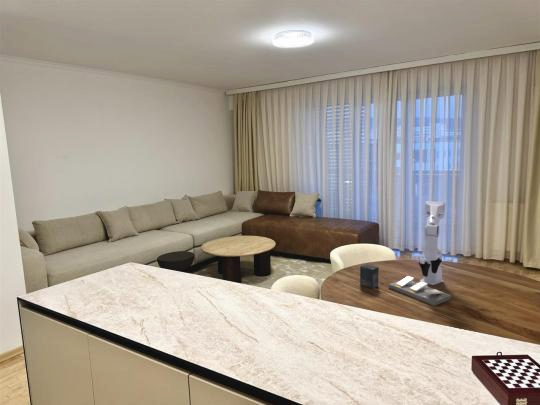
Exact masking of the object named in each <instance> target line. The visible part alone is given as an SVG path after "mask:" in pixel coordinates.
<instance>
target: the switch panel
mask: <svg viewBox="0 0 540 405" xmlns="http://www.w3.org/2000/svg"><path fill="white" fill-rule="evenodd" d="M401 280H402V279H400V280H398V281H395V282H391V283H389V284H388V289H391V290H392V291H393V290H394V291H397V292H398V293H400V294H404V295H406V296H408V297H411V298H412V299H416V300H419V301H421V302H423V303H426V304H429V305H431V306H433V307H436V306H438V305H440V304H442V303H445V302H447V301H450V300H452V295H451V294H448V293H445V292H443V291H441V292H442V294H430V293H427V292H424V290H436V289H435V288H432V287H430V286H428V285H427V286H425V287H423V288H422V289H420V290H418V291H417V292H415V291H413V290H410V288H411V287H412V286H414V285H416V284H417V283H418V282H415V281H414V280H412V281H411V282H409V283H408V284H406V285H405V286H404V287H401V286H398V285H397V283H398V282H400V281H401Z"/></svg>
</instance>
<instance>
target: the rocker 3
mask: <svg viewBox="0 0 540 405" xmlns="http://www.w3.org/2000/svg"><path fill="white" fill-rule="evenodd" d="M424 292H427V293H430V294H442V292H443V291H440V290H438V289H435V290H424Z"/></svg>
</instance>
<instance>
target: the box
mask: <svg viewBox="0 0 540 405" xmlns="http://www.w3.org/2000/svg"><path fill="white" fill-rule="evenodd" d="M359 267H360V268H359V271H360V272H359V273H360V275H359V285H360V286H363V287H366V288H369V289H375V288H377V287H379V267H378V266H376V265H372V264H368V263H364V264H362V265H360V266H359Z"/></svg>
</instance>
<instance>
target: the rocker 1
mask: <svg viewBox="0 0 540 405" xmlns="http://www.w3.org/2000/svg"><path fill="white" fill-rule="evenodd" d="M400 280H401V281H400ZM400 280H399V281H400V282H398V283H397V285H398V286H401V287H404V286H405V285H406V284H408V283H409V282H411V281H414V277H412V276H409V275H407V276H406V277H405V278H404V277H403V279H400Z"/></svg>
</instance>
